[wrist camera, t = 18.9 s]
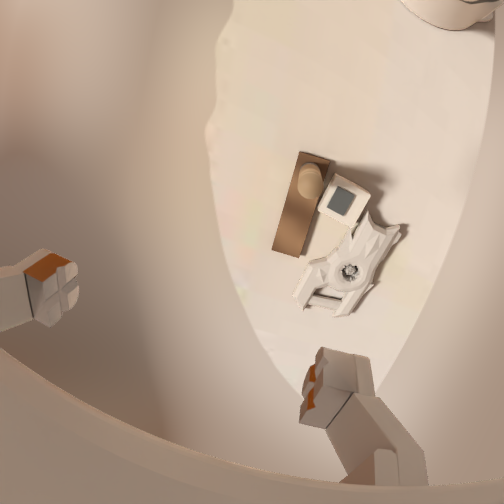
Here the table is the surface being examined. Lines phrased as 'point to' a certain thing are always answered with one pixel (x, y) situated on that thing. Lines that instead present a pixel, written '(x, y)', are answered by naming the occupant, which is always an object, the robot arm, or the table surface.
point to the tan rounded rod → (310, 181)
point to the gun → (347, 267)
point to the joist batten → (297, 211)
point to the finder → (343, 200)
